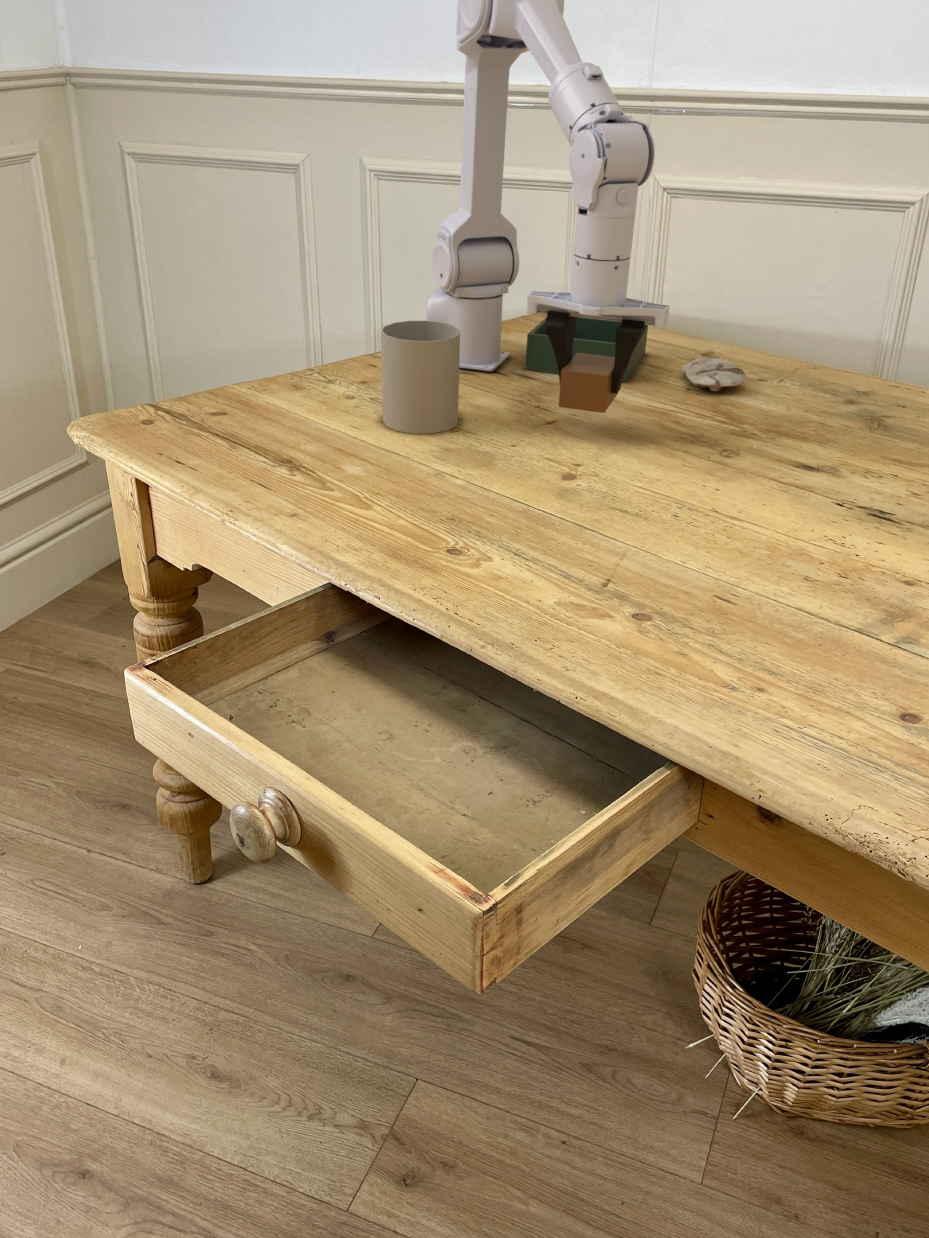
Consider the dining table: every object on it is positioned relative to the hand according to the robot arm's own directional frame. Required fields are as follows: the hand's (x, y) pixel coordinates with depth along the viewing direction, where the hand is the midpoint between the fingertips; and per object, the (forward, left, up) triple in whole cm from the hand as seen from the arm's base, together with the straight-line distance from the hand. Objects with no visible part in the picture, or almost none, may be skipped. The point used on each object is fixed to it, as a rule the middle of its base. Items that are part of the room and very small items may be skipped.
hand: (589, 387), depth 107 cm
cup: (-18, -4, -5) cm, 19 cm away
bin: (-6, +26, -5) cm, 27 cm away
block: (0, 0, -1) cm, 1 cm away
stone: (+11, +23, -5) cm, 26 cm away
